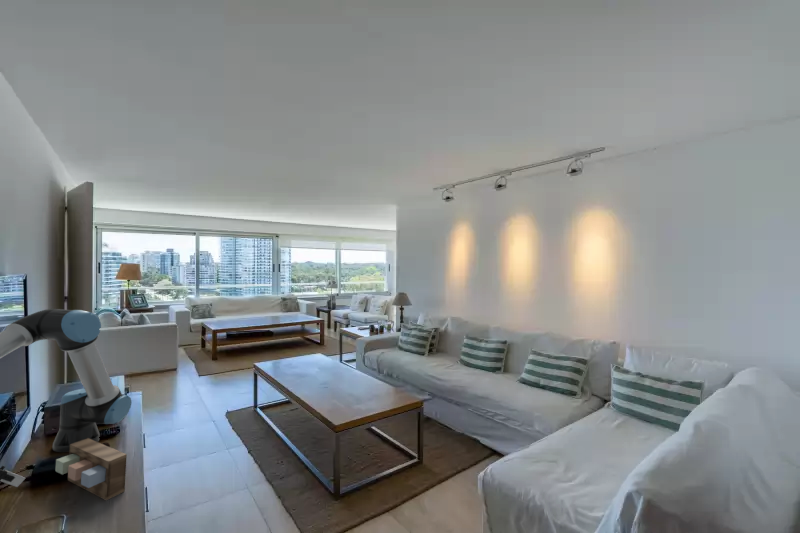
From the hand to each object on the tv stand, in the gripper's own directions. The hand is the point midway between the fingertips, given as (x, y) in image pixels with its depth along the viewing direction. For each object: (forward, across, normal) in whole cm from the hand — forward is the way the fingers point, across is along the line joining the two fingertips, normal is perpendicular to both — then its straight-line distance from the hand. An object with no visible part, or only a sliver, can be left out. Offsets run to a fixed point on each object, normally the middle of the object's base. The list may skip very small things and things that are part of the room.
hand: (20, 481), depth 115 cm
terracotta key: (+10, +8, +7) cm, 15 cm away
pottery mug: (+24, -10, +12) cm, 28 cm away
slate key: (+10, +16, +7) cm, 20 cm away
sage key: (+10, 0, +7) cm, 13 cm away
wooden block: (+18, +8, +6) cm, 20 cm away
